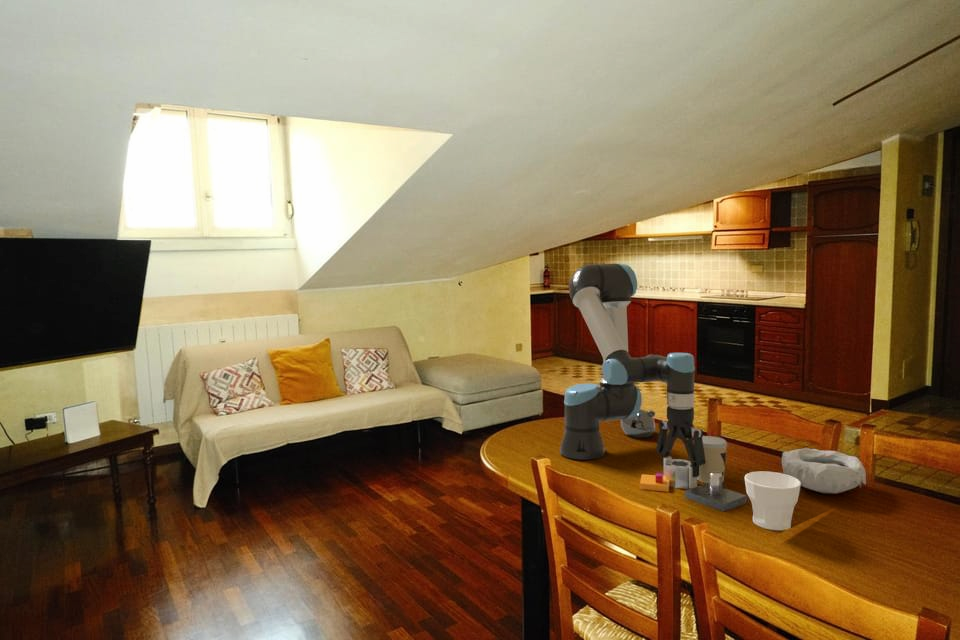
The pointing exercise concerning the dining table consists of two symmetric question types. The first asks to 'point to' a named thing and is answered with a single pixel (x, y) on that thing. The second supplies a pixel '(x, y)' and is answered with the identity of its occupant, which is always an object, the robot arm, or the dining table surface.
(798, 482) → the cup
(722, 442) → the coffee cup
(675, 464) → the block
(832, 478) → the bowl
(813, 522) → the dining table surface
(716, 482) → the shaft block
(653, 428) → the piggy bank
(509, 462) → the dining table surface
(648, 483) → the push button box
